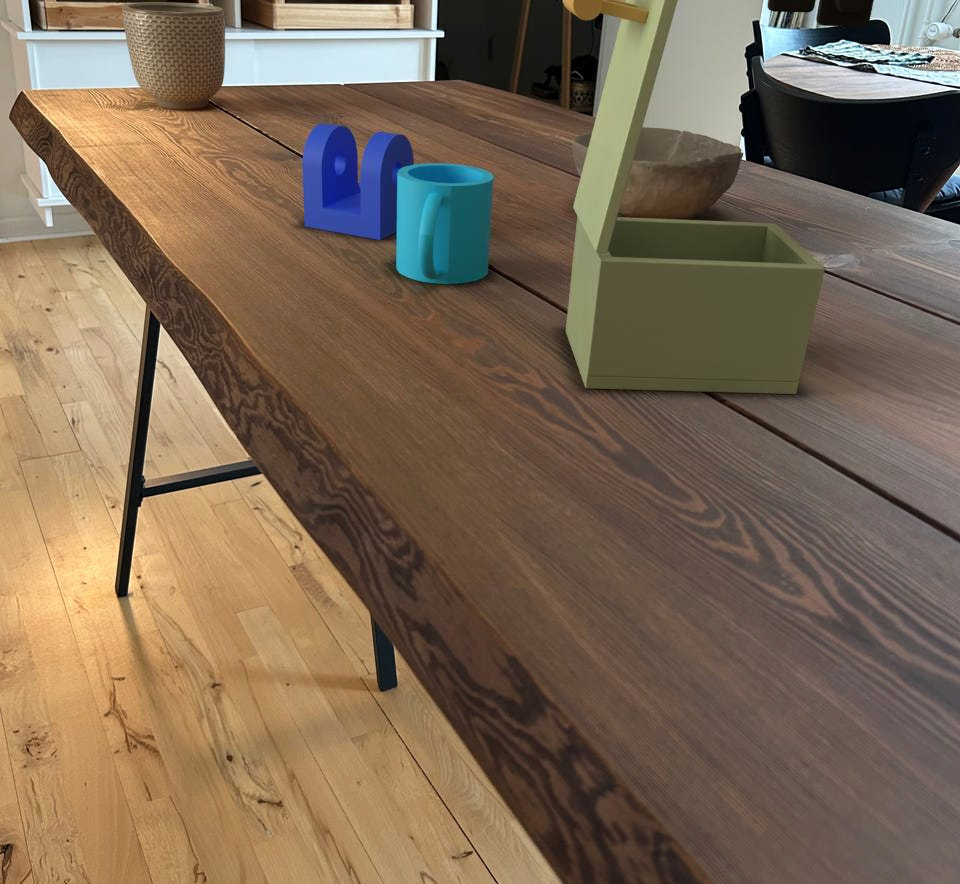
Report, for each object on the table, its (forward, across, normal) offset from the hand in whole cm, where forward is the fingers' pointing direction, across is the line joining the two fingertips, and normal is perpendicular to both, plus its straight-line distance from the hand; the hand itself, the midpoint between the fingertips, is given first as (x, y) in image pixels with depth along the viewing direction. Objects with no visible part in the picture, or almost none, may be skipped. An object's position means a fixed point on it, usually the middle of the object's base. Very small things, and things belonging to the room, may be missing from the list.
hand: (814, 18), depth 68 cm
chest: (+22, -4, +7) cm, 24 cm away
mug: (+22, +14, +24) cm, 36 cm away
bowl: (+23, +37, +1) cm, 43 cm away
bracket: (+22, +34, +29) cm, 50 cm away
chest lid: (+5, -4, +13) cm, 14 cm away
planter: (+21, +90, +59) cm, 110 cm away
